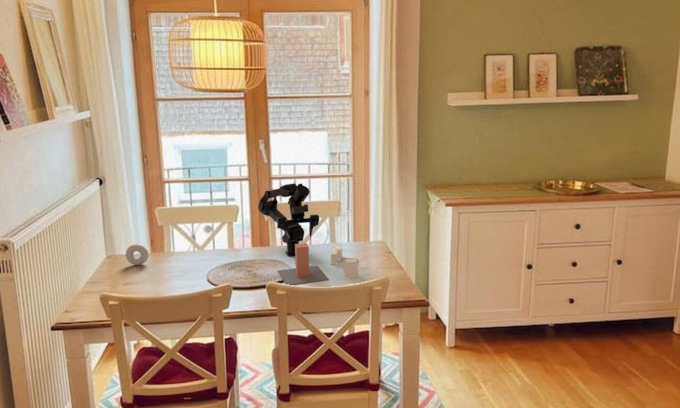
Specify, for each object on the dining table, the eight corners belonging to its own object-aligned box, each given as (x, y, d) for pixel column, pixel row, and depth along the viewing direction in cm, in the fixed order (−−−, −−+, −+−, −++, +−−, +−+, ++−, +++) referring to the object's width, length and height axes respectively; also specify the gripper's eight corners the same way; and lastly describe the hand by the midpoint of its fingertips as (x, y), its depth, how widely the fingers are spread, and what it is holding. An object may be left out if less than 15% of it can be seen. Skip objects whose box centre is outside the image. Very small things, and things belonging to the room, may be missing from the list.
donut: (150, 263, 268) (148, 242, 266) (148, 265, 265) (146, 244, 262) (127, 264, 267) (125, 243, 265) (125, 266, 264) (123, 245, 261)
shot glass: (345, 280, 242) (345, 264, 240) (341, 274, 248) (340, 258, 247) (361, 278, 244) (361, 262, 242) (356, 272, 250) (356, 257, 249)
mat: (277, 271, 254) (277, 270, 254) (317, 266, 259) (317, 265, 259) (286, 285, 237) (286, 284, 237) (329, 280, 242) (328, 279, 242)
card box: (296, 273, 250) (294, 244, 247) (307, 272, 251) (306, 243, 248) (297, 277, 245) (296, 247, 242) (309, 276, 246) (308, 246, 243)
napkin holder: (334, 268, 258) (334, 255, 256) (317, 262, 266) (317, 250, 264) (358, 259, 268) (358, 247, 267) (341, 254, 276) (340, 242, 275)
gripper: (276, 199, 258) (280, 230, 250) (318, 196, 262) (323, 227, 254) (275, 212, 267) (279, 242, 259) (315, 209, 271) (320, 239, 263)
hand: (300, 237), depth 259 cm, fingers open, 9 cm apart
